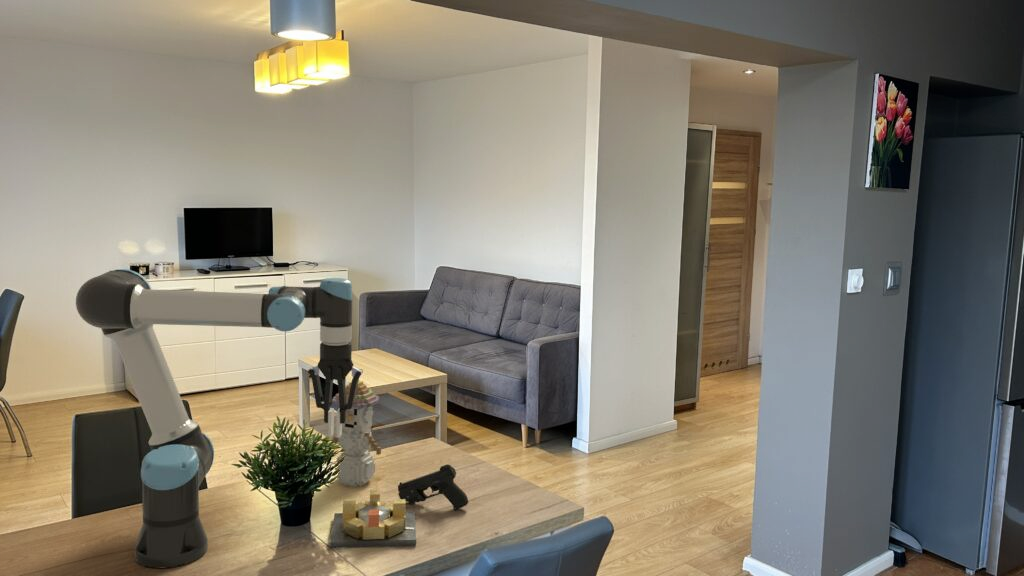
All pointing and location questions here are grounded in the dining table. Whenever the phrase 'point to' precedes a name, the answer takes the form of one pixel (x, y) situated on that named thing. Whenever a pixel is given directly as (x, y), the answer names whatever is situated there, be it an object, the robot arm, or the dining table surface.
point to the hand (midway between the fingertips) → (334, 435)
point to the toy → (357, 438)
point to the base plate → (347, 541)
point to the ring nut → (373, 518)
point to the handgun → (434, 487)
